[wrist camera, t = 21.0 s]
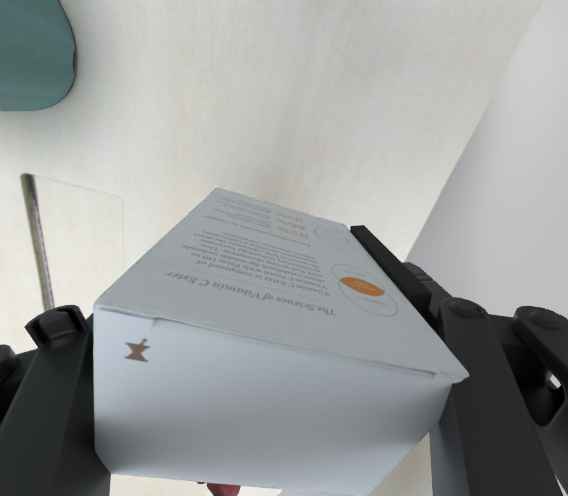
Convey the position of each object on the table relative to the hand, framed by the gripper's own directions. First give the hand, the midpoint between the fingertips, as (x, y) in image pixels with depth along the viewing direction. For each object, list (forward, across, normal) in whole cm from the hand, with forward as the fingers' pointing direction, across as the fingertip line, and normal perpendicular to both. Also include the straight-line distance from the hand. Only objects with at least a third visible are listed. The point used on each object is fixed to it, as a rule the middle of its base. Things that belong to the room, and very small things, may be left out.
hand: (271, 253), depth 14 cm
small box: (+1, 0, 0) cm, 1 cm away
